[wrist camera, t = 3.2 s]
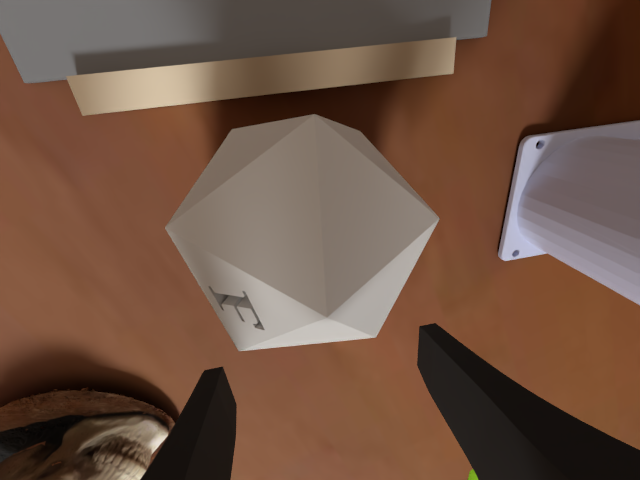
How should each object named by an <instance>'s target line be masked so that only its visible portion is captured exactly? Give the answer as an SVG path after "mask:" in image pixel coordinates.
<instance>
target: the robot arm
mask: <svg viewBox="0 0 640 480" xmlns="http://www.w3.org/2000/svg"><path fill="white" fill-rule="evenodd" d="M538 141H539V144H538V146H537V147H536V144H537V142H538ZM546 253H548V254H550V255H551V256H553V257H555V258H557V259H559V260H560V261H562V262H564V263H566V264H567V265H569V266H571V267H573V268H575V269H576V270H578V271H580V272H582V273H583V274H585V275H587V276H589V277H591V278H592V279H594V280H596V281H598V282H600V283H601V284H603V285H605V286H607V287H608V288H610V289H612V290H614V291H616V292H617V293H619V294H621V295H623V296H624V297H626V298H628V299H630V300H632V301H633V302H635V303H637V304H639V305H640V120H637V121H630V122H623V123H616V124H608V125H601V126H594V127H587V128H580V129H573V130H565V131H558V132H551V133H544V134H537V135H529V136H526V137H525V138H524V139H523V140H522V141H521V142H520V145H519V149H518V154H517V160H516V165H515V170H514V175H513V180H512V185H511V190H510V196H509V201H508V206H507V211H506V216H505V221H504V226H503V232H502V237H501V242H500V247H499V252H498V256H499V258H501V259H502V260H504V261H508V260H513V259H519V258H524V257H530V256H535V255H541V254H546ZM417 366H418V368H419V370H420V373H421V375H422V377H423V380H424V382H425V384H426V386H427V388H428V391H429V393H430V394H431V396H432V398H433V400H434V402H435V403H436V405H437V407H438V408H439V410H440V412H441V414H442V415H443V417H444V419H445V420H446V422H447V424H448V426H449V427H450V429H451V431H452V432H453V434H454V436H455V438H456V439H457V441H458V443H459V444H460V446H461V448H462V450H463V451H464V453H465V455H466V456H467V458H468V460H469V462H470V464H471V466H472V468H473V469H474V471H475V473H476V475H477V477H478V480H640V450H638V449H636V448H634V447H632V446H630V445H628V444H626V443H624V442H622V441H620V440H618V439H615V438H613V437H611V436H609V435H607V434H606V433H604V432H602V431H600V430H598V429H596V428H594V427H592V426H590V425H588V424H586V423H584V422H582V421H580V420H579V419H577V418H575V417H573V416H571V415H569V414H568V413H566V412H564V411H562V410H561V409H559V408H557V407H555V406H554V405H552V404H550V403H549V402H547V401H545V400H544V399H542V398H540V397H538V396H537V395H535V394H534V393H532V392H530V391H529V390H527V389H526V388H524V387H522V386H521V385H519V384H518V383H516V382H515V381H513V380H512V379H510V378H509V377H507V376H506V375H504V374H503V373H501V372H500V371H499V370H497V369H496V368H494V367H493V366H491V365H490V364H489V363H487V362H486V361H485V360H483V359H482V358H480V357H479V356H478V355H476V354H475V353H474V352H472V351H471V350H470V349H468V348H467V347H466V346H464V345H463V344H462V343H460V342H459V341H458V340H456V339H455V338H454V337H453V336H451V335H450V334H449V333H447V332H446V331H445V330H443V329H442V328H441V327H440V326H438V325H437V324H436V323H434V324H429V325H424V326H420V328H419V345H418V361H417ZM235 438H236V402H235V399H234V396H233V394H232V391H231V388H230V385H229V383H228V380H227V377H226V374H225V372H224V369H223V367H219V368H214V369H209V370H205V371H204V372H203V373H202V375H201V377H200V379H199V381H198V383H197V385H196V387H195V389H194V391H193V392H192V394H191V396H190V398H189V400H188V402H187V403H186V405H185V407H184V409H183V411H182V413H181V414H180V416H179V418H178V419H177V421H176V423H175V425H174V426H173V428H172V430H171V432H170V433H169V435H168V437H167V438H166V440H165V442H164V443H163V445H162V447H161V448H160V450H159V451H158V453H157V454H156V456H155V458H154V459H153V461H152V462H151V464H150V465H149V467H148V469H147V470H146V472H145V473H144V475H143V476H142V478H141V479H140V480H230V478H231V470H232V463H233V455H234V447H235Z"/></svg>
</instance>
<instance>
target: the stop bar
mask: <svg viewBox="0 0 640 480" xmlns="http://www.w3.org/2000/svg"><path fill="white" fill-rule="evenodd" d="M455 48H456V37H452V38H442V39H432V40H422V41H412V42H403V43H393V44H383V45H373V46H363V47H353V48H343V49H333V50H323V51H313V52H303V53H293V54H283V55H273V56H263V57H253V58H243V59H233V60H223V61H213V62H203V63H193V64H183V65H174V66H164V67H154V68H144V69H134V70H124V71H114V72H104V73H94V74H84V75H74V76H66V78H67V80H68V83H69V85H70V87H71V90H72V92H73V94H74V97H75V99H76V101H77V104H78V106H79V108H80V111H81V113H82V115H92V114H101V113H110V112H119V111H128V110H136V109H145V108H154V107H163V106H172V105H181V104H189V103H198V102H207V101H216V100H225V99H233V98H242V97H251V96H260V95H269V94H278V93H286V92H295V91H304V90H313V89H322V88H331V87H339V86H348V85H357V84H366V83H375V82H383V81H392V80H401V79H410V78H419V77H428V76H436V75H445V74H453V71H454V59H455Z"/></svg>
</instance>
